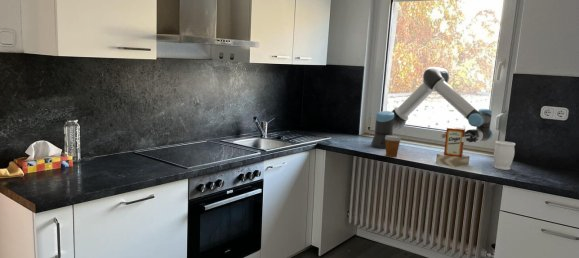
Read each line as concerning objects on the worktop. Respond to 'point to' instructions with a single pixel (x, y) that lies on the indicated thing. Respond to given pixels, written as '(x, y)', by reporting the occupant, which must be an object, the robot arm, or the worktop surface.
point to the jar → (503, 154)
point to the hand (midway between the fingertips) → (451, 137)
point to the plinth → (452, 160)
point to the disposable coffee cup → (392, 145)
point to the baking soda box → (454, 141)
